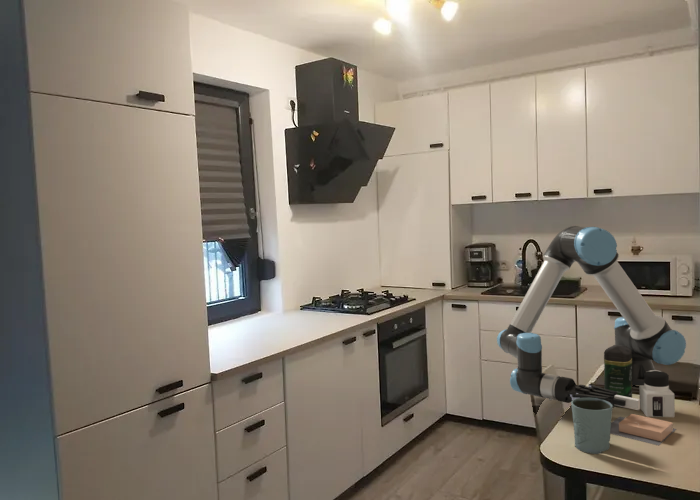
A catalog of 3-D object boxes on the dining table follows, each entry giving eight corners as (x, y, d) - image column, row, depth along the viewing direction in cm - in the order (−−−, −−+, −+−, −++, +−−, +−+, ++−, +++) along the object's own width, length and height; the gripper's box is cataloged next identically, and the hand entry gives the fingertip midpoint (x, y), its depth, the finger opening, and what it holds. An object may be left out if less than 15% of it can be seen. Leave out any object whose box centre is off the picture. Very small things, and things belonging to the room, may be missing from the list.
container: (675, 419, 171) (674, 376, 170) (646, 418, 172) (646, 375, 171) (666, 409, 178) (665, 368, 177) (639, 409, 180) (638, 368, 179)
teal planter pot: (566, 448, 155) (565, 405, 154) (580, 436, 163) (579, 394, 162) (605, 458, 148) (605, 413, 147) (618, 444, 156) (617, 401, 155)
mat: (619, 418, 174) (619, 416, 174) (676, 431, 162) (676, 429, 162) (599, 433, 164) (599, 430, 164) (658, 447, 153) (658, 445, 153)
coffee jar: (629, 410, 179) (628, 351, 178) (602, 406, 184) (601, 349, 182) (634, 400, 187) (633, 344, 186) (608, 397, 192) (607, 342, 190)
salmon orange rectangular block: (631, 413, 168) (672, 422, 161) (631, 422, 169) (672, 431, 161) (618, 422, 162) (661, 432, 154) (619, 431, 162) (661, 442, 155)
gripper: (568, 394, 184) (647, 411, 167) (549, 406, 175) (630, 424, 158) (568, 371, 183) (647, 385, 166) (548, 381, 174) (629, 398, 157)
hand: (638, 404), depth 162 cm, fingers closed
